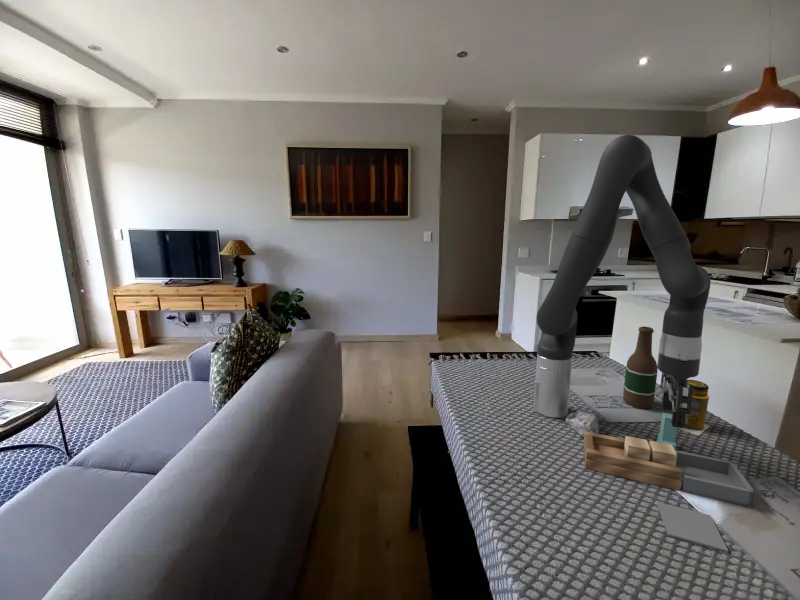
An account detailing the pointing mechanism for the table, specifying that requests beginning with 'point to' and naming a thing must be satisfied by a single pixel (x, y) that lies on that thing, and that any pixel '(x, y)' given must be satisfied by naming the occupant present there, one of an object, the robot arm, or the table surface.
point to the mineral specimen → (583, 422)
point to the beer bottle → (641, 373)
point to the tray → (714, 479)
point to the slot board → (626, 462)
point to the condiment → (697, 408)
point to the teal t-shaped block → (667, 431)
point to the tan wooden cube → (636, 448)
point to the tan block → (662, 453)
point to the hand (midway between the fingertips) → (672, 417)
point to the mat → (691, 526)
